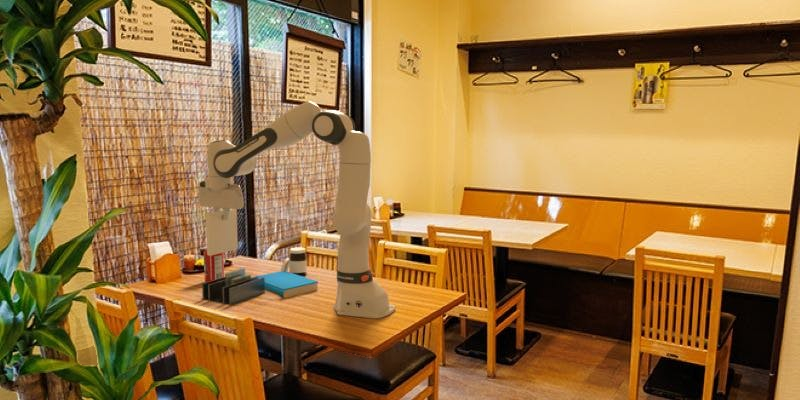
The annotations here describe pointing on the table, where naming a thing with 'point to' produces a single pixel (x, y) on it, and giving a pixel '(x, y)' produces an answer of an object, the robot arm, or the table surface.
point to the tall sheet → (221, 232)
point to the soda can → (213, 266)
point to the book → (288, 283)
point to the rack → (233, 288)
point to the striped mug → (296, 262)
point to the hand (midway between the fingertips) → (221, 219)
